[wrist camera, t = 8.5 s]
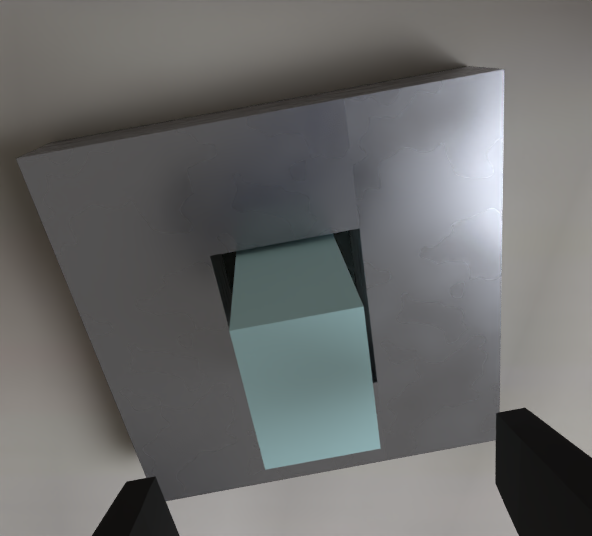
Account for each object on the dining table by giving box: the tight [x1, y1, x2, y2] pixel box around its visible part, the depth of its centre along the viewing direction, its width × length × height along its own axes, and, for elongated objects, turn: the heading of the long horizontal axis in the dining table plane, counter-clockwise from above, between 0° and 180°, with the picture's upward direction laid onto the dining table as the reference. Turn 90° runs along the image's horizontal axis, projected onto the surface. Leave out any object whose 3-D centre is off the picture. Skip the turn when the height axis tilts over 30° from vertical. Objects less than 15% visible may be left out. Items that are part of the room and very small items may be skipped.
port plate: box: [16, 66, 504, 501], centre depth 18 cm, size 14×14×2 cm
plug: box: [229, 233, 381, 470], centre depth 15 cm, size 3×4×7 cm
